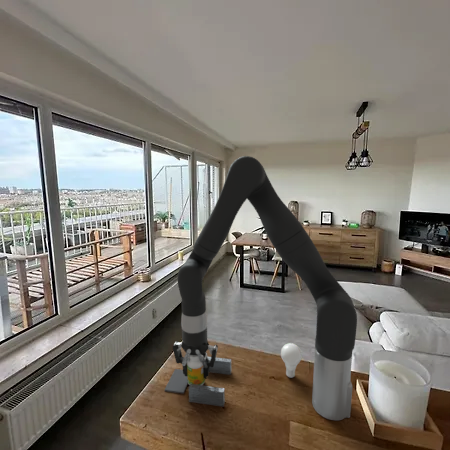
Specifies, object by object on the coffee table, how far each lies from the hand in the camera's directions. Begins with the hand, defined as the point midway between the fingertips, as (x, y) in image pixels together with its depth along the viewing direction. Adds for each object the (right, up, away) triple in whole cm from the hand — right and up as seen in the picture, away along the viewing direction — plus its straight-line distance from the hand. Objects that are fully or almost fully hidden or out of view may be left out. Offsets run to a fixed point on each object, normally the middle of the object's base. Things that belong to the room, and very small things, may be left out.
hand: (196, 375), depth 83 cm
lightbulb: (+30, -2, +3) cm, 30 cm away
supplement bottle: (0, -2, 0) cm, 2 cm away
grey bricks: (+5, -3, 0) cm, 6 cm away
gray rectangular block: (-6, -3, +1) cm, 6 cm away
